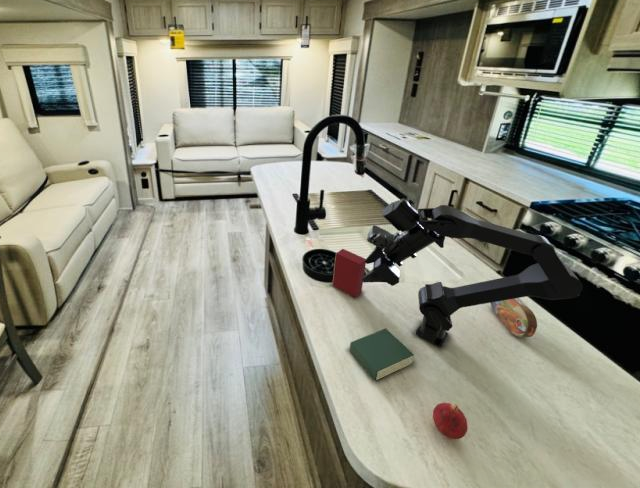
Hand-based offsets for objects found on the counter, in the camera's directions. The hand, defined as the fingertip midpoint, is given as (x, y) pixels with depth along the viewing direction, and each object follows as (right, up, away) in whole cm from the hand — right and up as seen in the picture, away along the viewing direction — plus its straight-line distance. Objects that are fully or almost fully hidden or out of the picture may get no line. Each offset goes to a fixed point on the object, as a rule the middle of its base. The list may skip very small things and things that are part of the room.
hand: (364, 271), depth 88 cm
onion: (+7, -27, -25) cm, 37 cm away
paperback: (+1, -10, +16) cm, 19 cm away
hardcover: (+1, -20, -8) cm, 22 cm away
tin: (+42, -15, +1) cm, 45 cm away
